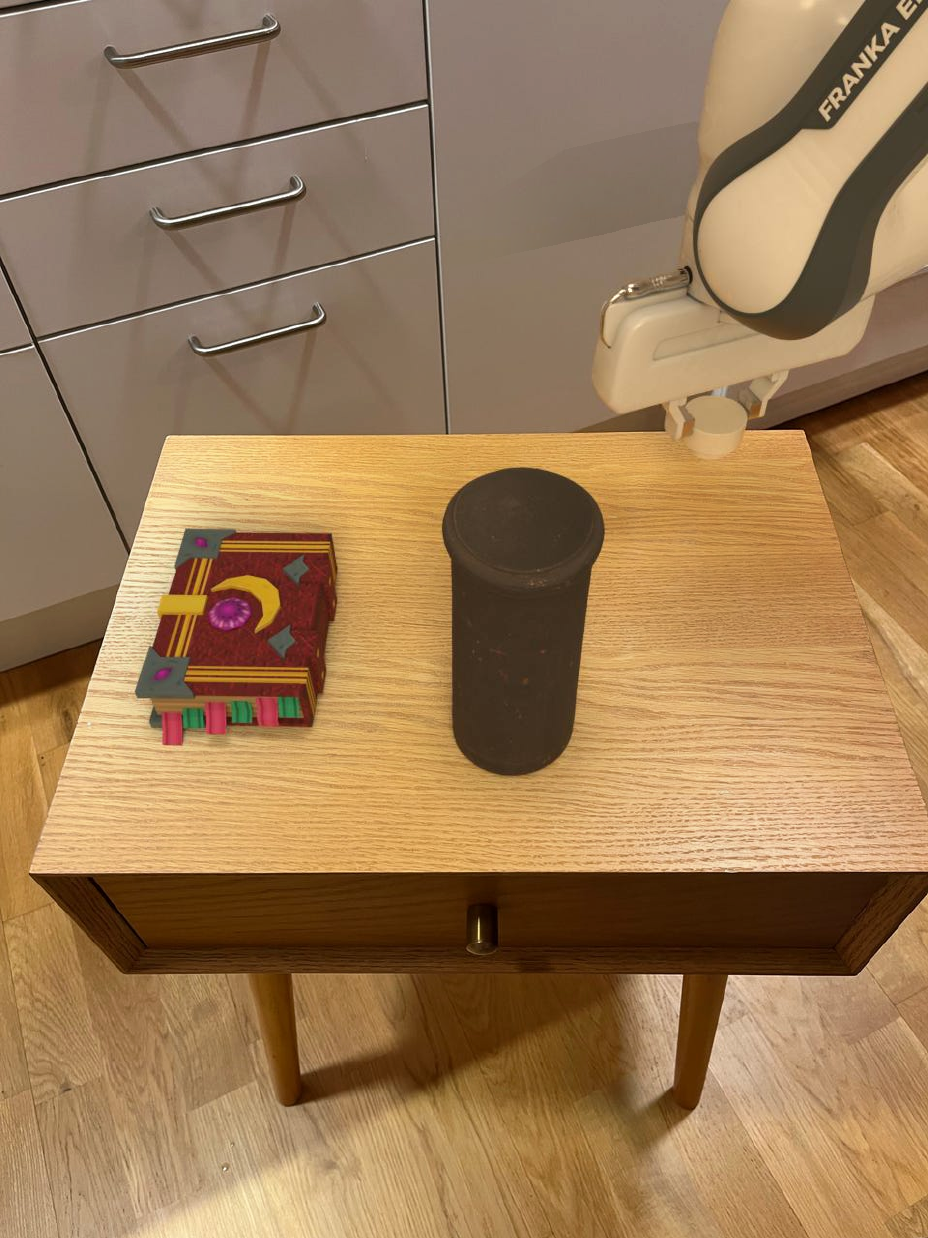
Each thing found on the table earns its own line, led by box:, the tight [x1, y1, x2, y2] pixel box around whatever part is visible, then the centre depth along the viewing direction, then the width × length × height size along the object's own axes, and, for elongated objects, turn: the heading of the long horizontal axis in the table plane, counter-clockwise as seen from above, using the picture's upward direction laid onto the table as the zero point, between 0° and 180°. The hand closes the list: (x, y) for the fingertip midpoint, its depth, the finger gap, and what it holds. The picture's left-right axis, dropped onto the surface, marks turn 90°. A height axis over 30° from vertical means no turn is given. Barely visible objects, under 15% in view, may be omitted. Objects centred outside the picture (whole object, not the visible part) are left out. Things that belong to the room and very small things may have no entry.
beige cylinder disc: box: [680, 394, 749, 461], centre depth 74 cm, size 5×5×3 cm
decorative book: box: [134, 528, 338, 746], centre depth 68 cm, size 11×16×5 cm
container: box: [441, 466, 606, 777], centre depth 57 cm, size 9×9×20 cm
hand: (714, 423), depth 73 cm, fingers closed on beige cylinder disc, 5 cm apart
